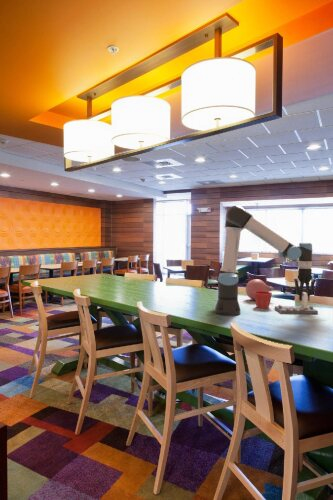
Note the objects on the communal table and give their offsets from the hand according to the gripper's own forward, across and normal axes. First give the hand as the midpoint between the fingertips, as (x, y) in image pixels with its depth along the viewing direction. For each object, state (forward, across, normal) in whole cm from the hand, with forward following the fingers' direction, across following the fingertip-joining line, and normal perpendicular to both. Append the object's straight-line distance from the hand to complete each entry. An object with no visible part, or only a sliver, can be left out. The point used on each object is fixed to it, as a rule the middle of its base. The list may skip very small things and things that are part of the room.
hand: (304, 306), depth 204 cm
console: (+4, -5, 0) cm, 6 cm away
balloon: (+4, -18, +36) cm, 40 cm away
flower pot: (+4, -22, +12) cm, 25 cm away
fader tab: (+1, 0, 0) cm, 1 cm away
